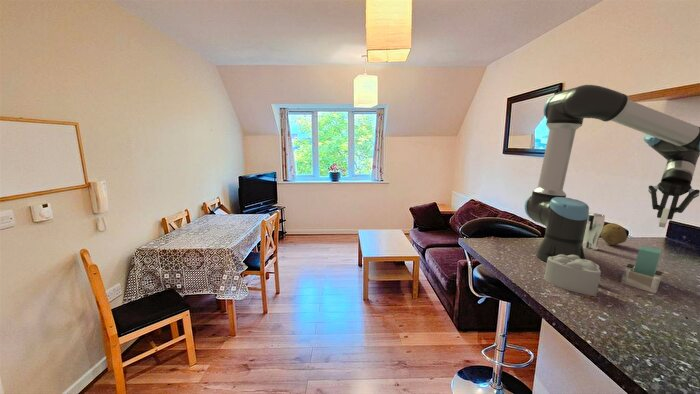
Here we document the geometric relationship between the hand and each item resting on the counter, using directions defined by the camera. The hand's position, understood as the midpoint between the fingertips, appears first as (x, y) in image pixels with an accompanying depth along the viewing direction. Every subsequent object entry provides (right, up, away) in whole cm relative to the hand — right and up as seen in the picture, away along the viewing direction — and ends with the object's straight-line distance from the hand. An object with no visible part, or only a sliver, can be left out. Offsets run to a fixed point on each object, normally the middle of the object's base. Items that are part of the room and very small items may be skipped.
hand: (662, 224), depth 100 cm
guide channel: (-19, -18, -11) cm, 28 cm away
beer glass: (-7, -12, +23) cm, 27 cm away
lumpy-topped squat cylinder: (-41, -18, -11) cm, 47 cm away
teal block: (-16, -17, -9) cm, 24 cm away
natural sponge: (+7, -12, +28) cm, 31 cm away
